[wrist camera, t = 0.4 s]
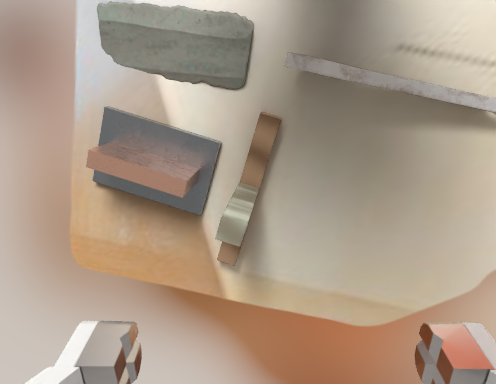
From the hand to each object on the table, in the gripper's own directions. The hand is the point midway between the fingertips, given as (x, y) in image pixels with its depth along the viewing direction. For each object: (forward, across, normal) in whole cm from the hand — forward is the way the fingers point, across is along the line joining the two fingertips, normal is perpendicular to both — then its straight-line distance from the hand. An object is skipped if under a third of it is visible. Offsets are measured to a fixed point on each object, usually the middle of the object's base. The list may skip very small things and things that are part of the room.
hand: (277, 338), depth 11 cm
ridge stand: (+47, +16, +11) cm, 51 cm away
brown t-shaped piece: (+45, +2, +16) cm, 48 cm away
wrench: (+46, -18, 0) cm, 49 cm away
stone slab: (+50, +12, -5) cm, 51 cm away
